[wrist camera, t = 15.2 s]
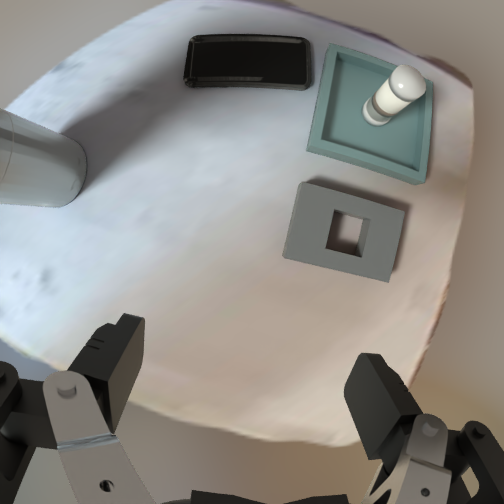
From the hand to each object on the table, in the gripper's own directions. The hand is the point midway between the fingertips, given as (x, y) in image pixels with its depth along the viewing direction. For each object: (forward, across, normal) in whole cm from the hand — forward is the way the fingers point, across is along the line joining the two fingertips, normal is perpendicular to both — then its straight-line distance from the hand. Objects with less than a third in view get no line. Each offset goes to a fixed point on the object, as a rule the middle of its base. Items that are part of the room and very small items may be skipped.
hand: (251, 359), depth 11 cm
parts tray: (+26, -12, -16) cm, 33 cm away
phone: (+29, +4, -19) cm, 35 cm away
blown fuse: (+26, -12, -16) cm, 33 cm away
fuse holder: (+24, -11, -1) cm, 26 cm away
